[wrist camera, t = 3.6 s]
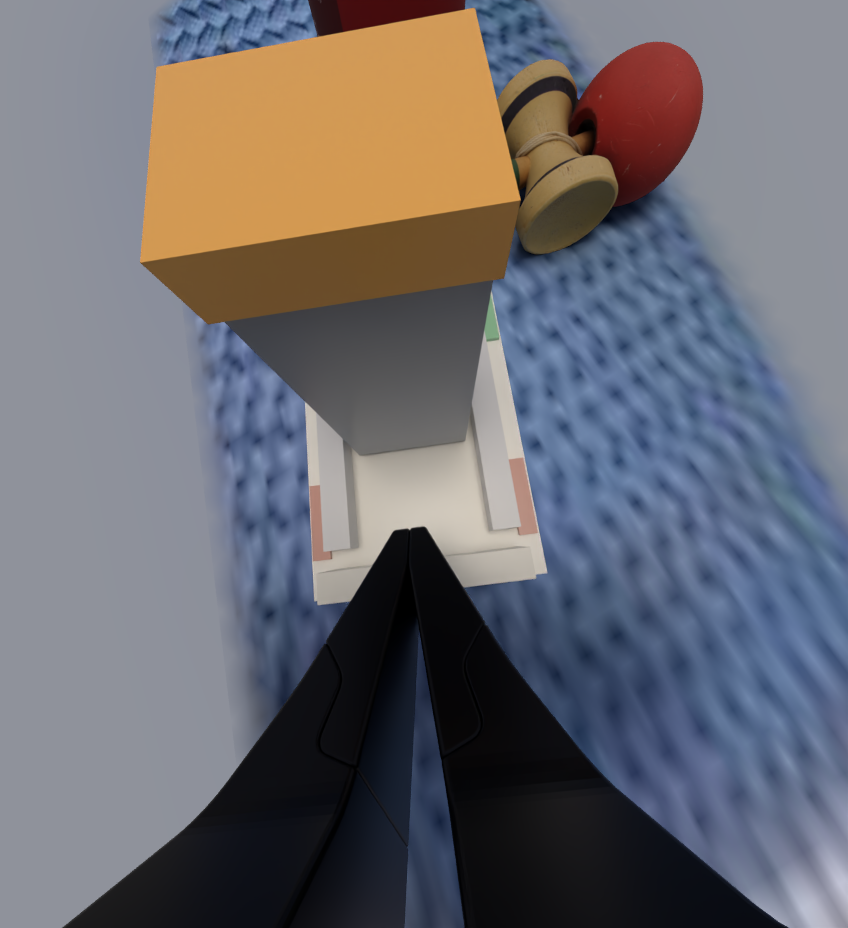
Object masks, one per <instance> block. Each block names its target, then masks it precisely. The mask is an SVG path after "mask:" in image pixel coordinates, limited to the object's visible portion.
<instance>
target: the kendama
mask: <svg viewBox="0 0 848 928" xmlns="http://www.w3.org/2000/svg"><path fill="white" fill-rule="evenodd" d="M497 103H498V107H499V112H500V116H501V120H502V124H503V128H504V132H505V137H506V141H507V145H508V149H509V153H510V158H511V162H512V166H513V170H514V174H515V178H516V183H517V187H518V191H519V190H521V189H523V188H524V187H526V194H525V199H524V201H523V203H522V205H521V207H520V209H519V211H518V215H517V220H516V225H515V226H516V231H517V233H518V235H519V238H520V240H521V243H522V245H523V247H524V249H525V250H526V251H527V252H529V253H532V254H546V253H551V252H554V251H558V250H560V249H563V248H565V247H567V246H569V245H571V244H573V243H575V242H576V241H578V240H579V239H581V238H582V237H584V236H585V235H587V234H588V233H589V232H590V231H591V230H593V229H594V228H595V227H596V226H597V225H598V224H599V223H600V222H601V221H602V220H603V219H604V217H605V216H606V215H607V214H608V212H609V211H610V210H611V208H612V207H616V206H621V205H625V204H628V203H631V202H633V201H635V200H638V199H639V198H641V197H643V196H645V195H646V194H648V193H649V192H651V191H652V190H653V189H655V188H656V187H657V186H658V185H659V184H661V183H662V182H663V181H664V180H665V179H666V178H667V177H668V176H669V174H670V173H671V172H672V171H673V170H674V169H675V167H676V166H677V165H678V163H679V162H680V161H681V159H682V157H683V156H684V154H685V153H686V151H687V149H688V148H689V146H690V143H691V142H692V139H693V137H694V135H695V132H696V130H697V127H698V124H699V120H700V115H701V110H702V103H703V86H702V80H701V75H700V72H699V70H698V67H697V65H696V63H695V62H694V60H693V58H692V57H691V56H690V55H689V54H688V53H687V52H686V51H685V50H683V49H682V48H680V47H678V46H676V45H673V44H671V43H665V42H650V43H645V44H641V45H638V46H636V47H634V48H631V49H629V50H627V51H625V52H624V53H622V54H620V55H619V56H617V57H616V58H615V59H613V60H612V61H611V62H610V63H609V64H608V65H606V66H605V67H604V68H603V69H602V70H601V71H600V72H599V73H598V74H597V75H596V77H595V78H594V79H593V80H592V82H591V83H590V84H589V86H588V87H587V88H586V90H585V91H584V93H583V95H582V96H581V98H580V100H578V98H577V88H576V85H575V82H574V80H573V78H572V76H571V74H570V72H569V70H568V69H567V68H566V67H565V65H564V64H563V63H561V62H559V61H555V60H552V59H551V60H541V61H538V62H535V63H534V64H531V65H529V66H528V67H526V68H525V69H523V70H522V71H521V72H519V73H518V74H517V75H516V76H515V77H514V78H513V79H512V80H511V81H510V82H509V83H508V84H507V86H506V87H505V88H504V90H503V91H502V93H501V95H500V96H499V98H498V100H497Z"/></svg>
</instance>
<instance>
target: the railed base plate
mask: <svg viewBox="0 0 848 928" xmlns="http://www.w3.org/2000/svg"><path fill="white" fill-rule="evenodd" d="M305 410H306V432H307V453H308V475H309V497H310V519H311V541H312V563H313V585H314V601H317V602H318V605H323V604H332V603H340V602H348V601H351V599H352V598H353V596H354V595H355V593H356V591H357V590H358V588H359V586H360V585H361V583H362V581H363V580H364V578H365V576H366V575H367V573H368V572H369V570H370V568H371V567H372V565H373V563H374V562H375V560H376V558H377V557H378V555H379V554H380V552H381V550H382V549H383V547H384V545H385V544H386V542H387V540H388V539H389V537H390V536H391V534H392V532H393V531H394V530H398V529H405V528H408V529H409V530H410V529H411V528H413V527H421V526H425V527H426V528H427V529H428V531H429V533H430V534H431V536H432V537H433V539H434V541H435V542H436V544H437V546H438V547H439V549H440V550H441V552H442V554H443V555H444V557H445V558H446V560H447V562H448V563H449V565H450V567H451V568H452V570H453V571H454V573H455V575H456V576H457V578H458V579H459V581H460V583H461V584H462V586H463V587H471V586H480V585H488V584H496V583H504V582H512V581H521V580H529V579H536V574H543V573H547V569H546V564H545V559H544V554H543V548H542V543H541V538H540V533H539V528H538V523H537V518H536V513H535V508H534V503H533V498H532V493H531V488H530V483H529V478H528V473H527V468H526V463H525V458H524V453H523V448H522V443H521V438H520V433H519V428H518V423H517V417H516V412H515V407H514V402H513V397H512V392H511V387H510V382H509V377H508V372H507V367H506V362H505V357H504V352H503V347H502V342H501V337H500V332H499V327H498V322H497V317H496V312H495V307H494V302H493V297H492V292H491V295H490V301H489V306H488V312H487V318H486V324H485V329H484V335H483V341H482V347H481V353H480V358H479V364H478V370H477V376H476V381H475V387H474V393H473V399H472V405H471V410H470V416H469V422H468V428H467V433H466V439H465V441H459V442H452V443H445V444H438V445H430V446H423V447H416V448H409V449H401V450H394V451H387V452H380V453H373V454H365V455H359V454H358V453H357V452H356V451H355V450H354V449H353V448H352V447H351V446H350V445H348V444H347V443H346V442H345V441H344V440H343V439H342V438H341V437H340V436H339V435H338V434H337V433H336V432H335V431H334V430H333V429H332V428H331V427H330V426H329V425H328V424H327V423H326V422H325V421H324V420H323V419H322V418H321V417H320V416H319V415H318V414H317V413H316V412H315V411H314V410H313V409H312V408H311V407H310V406H309V405H308V404H307V403H306V402H305Z"/></svg>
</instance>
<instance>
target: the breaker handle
mask: <svg viewBox="0 0 848 928" xmlns="http://www.w3.org/2000/svg"><path fill="white" fill-rule="evenodd" d="M520 201H521V199H520V195H519V191H518V187H517V183H516V178H515V174H514V170H513V166H512V162H511V158H510V153H509V149H508V145H507V141H506V137H505V132H504V128H503V124H502V120H501V116H500V112H499V107H498V103H497V99H496V95H495V91H494V87H493V82H492V78H491V74H490V70H489V66H488V61H487V57H486V53H485V49H484V45H483V41H482V36H481V32H480V28H479V24H478V20H477V16H476V11H475V8H471V9H466V10H460V11H455V12H449V13H444V14H439V15H433V16H428V17H423V18H417V19H412V20H406V21H401V22H396V23H390V24H385V25H380V26H374V27H369V28H364V29H358V30H353V31H347V32H342V33H337V34H331V35H326V36H321V37H315V38H310V39H304V40H299V41H294V42H288V43H283V44H278V45H272V46H267V47H261V48H256V49H251V50H245V51H240V52H235V53H229V54H224V55H218V56H213V57H208V58H202V59H197V60H192V61H186V62H181V63H175V64H170V65H165V66H159V67H157V69H156V82H155V93H154V105H153V117H152V128H151V140H150V152H149V165H148V176H147V188H146V199H145V211H144V224H143V235H142V247H141V259H140V263H141V264H142V265H143V266H144V267H146V268H147V269H148V270H149V271H150V272H151V273H152V274H154V276H156V277H157V278H158V279H159V280H160V281H161V282H162V283H163V284H164V285H165V286H167V287H168V288H169V289H170V290H171V291H172V292H173V293H174V294H175V295H176V296H177V297H179V298H180V299H181V300H182V301H183V302H184V303H185V304H186V305H187V306H188V307H190V308H191V309H192V310H193V311H194V312H195V313H196V314H197V315H198V316H199V317H201V318H202V319H203V320H204V321H205V322H206V323H207V324H214V323H220V322H225V323H226V324H227V325H228V326H229V327H230V328H231V329H232V330H233V331H234V332H235V333H236V334H237V335H238V336H239V337H240V338H241V339H242V340H243V341H244V342H245V343H246V344H247V345H248V346H249V347H250V348H251V349H252V350H253V351H254V352H255V353H256V354H257V355H258V356H259V357H260V358H261V359H262V360H263V361H264V362H265V363H266V364H267V365H268V366H269V367H270V368H272V369H273V370H274V371H275V372H276V373H277V374H278V375H279V376H280V377H281V378H282V379H283V380H284V381H285V382H286V383H287V384H288V385H289V386H290V387H291V388H292V389H293V390H294V391H295V392H296V393H297V394H298V395H299V396H300V397H301V398H302V399H303V400H304V401H305V402H306V403H307V404H308V405H309V406H310V407H311V408H312V409H313V410H314V411H315V412H316V413H317V414H318V415H319V416H320V417H321V418H322V419H323V420H324V421H325V422H326V423H327V424H328V425H329V426H330V427H331V428H332V429H333V430H334V431H335V432H336V433H337V434H338V435H339V436H340V437H341V438H342V439H343V440H344V441H345V442H346V443H347V444H348V445H350V446H351V447H352V448H353V449H354V450H355V451H356V452H357V453H358V454H359V455H365V454H373V453H380V452H387V451H394V450H401V449H409V448H416V447H423V446H430V445H438V444H445V443H452V442H459V441H465V439H466V433H467V428H468V422H469V416H470V410H471V405H472V399H473V393H474V387H475V381H476V376H477V370H478V364H479V358H480V353H481V347H482V341H483V335H484V329H485V324H486V318H487V312H488V306H489V301H490V295H491V289H492V283H493V280H497V279H503V278H504V276H505V271H506V267H507V262H508V257H509V253H510V248H511V243H512V239H513V234H514V229H515V225H516V220H517V215H518V211H519V206H520Z"/></svg>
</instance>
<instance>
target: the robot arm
mask: <svg viewBox="0 0 848 928" xmlns="http://www.w3.org/2000/svg"><path fill="white" fill-rule="evenodd" d="M419 632H420V638H421V643H422V649H423V655H424V661H425V667H426V673H427V679H428V685H429V691H430V697H431V703H432V709H433V715H434V721H435V727H436V733H437V739H438V745H439V750H440V756H441V760H442V768H443V774H444V781H445V787H446V793H447V800H448V806H449V814H450V821H451V828H452V836H453V843H454V851H455V858H456V866H457V873H458V881H459V889H460V896H461V904H462V911H463V919H464V926H465V928H788V927H787V926H785V925H783V924H781V923H780V922H778V921H777V920H775V919H774V918H773V917H771V916H770V915H769V914H767V913H766V912H765V911H763V910H762V909H761V908H759V907H758V906H757V905H755V904H754V903H753V902H751V901H750V900H749V899H748V898H747V897H746V896H744V895H743V894H742V893H741V892H740V891H738V890H737V889H736V888H735V887H734V886H732V885H731V884H730V883H729V882H728V881H726V880H725V879H724V878H723V877H722V876H721V875H719V874H718V873H717V872H716V871H715V870H713V869H712V868H711V867H710V866H709V865H707V864H706V863H705V862H704V861H703V860H701V859H700V858H699V857H698V856H697V855H696V854H694V853H693V852H692V851H691V850H690V849H688V848H687V847H686V846H685V845H684V844H682V843H681V842H680V841H679V840H678V839H676V838H675V837H674V836H673V835H672V834H671V833H669V832H668V831H667V830H666V829H665V828H663V827H662V826H661V825H660V824H659V823H657V822H656V821H655V820H654V819H653V818H651V817H650V816H649V815H648V814H647V813H646V812H644V811H643V810H642V809H641V808H640V807H638V806H637V805H636V804H635V803H634V802H632V801H631V800H630V799H629V798H628V797H626V796H625V795H624V794H623V793H622V792H621V791H619V790H618V789H617V788H616V787H615V786H614V785H613V784H612V783H611V782H610V781H609V780H608V779H607V778H606V777H605V776H604V775H603V774H602V773H601V772H600V771H599V770H598V769H597V768H596V767H595V766H594V765H593V763H592V762H591V761H590V760H589V759H588V758H587V757H586V756H585V754H584V753H583V752H582V751H581V750H580V748H579V747H578V746H577V745H576V744H575V742H574V741H573V740H572V739H571V737H570V736H569V735H568V734H567V732H566V731H565V730H564V729H563V727H562V726H561V725H560V724H559V722H558V721H557V720H556V719H555V717H554V716H553V715H552V714H551V712H550V711H549V710H548V709H547V708H546V706H545V705H544V704H543V703H542V701H541V700H540V699H539V698H538V696H537V695H536V694H535V693H534V691H533V690H532V689H531V688H530V686H529V685H528V684H527V683H526V681H525V680H524V679H523V677H522V676H521V675H520V673H519V672H518V671H517V669H516V668H515V667H514V665H513V664H512V663H511V661H510V660H509V658H508V657H507V655H506V654H505V652H504V651H503V649H502V648H501V646H500V645H499V643H498V642H497V640H496V639H495V637H494V636H493V634H492V632H491V631H490V629H489V628H488V626H487V625H485V621H484V620H483V618H482V617H481V615H480V613H479V612H478V610H477V609H476V607H475V605H474V604H473V602H472V600H471V599H470V597H469V596H468V594H467V592H466V591H465V589H464V588H463V586H462V584H461V583H460V581H459V579H458V578H457V576H456V575H455V573H454V571H453V570H452V568H451V567H450V565H449V563H448V562H447V560H446V558H445V557H444V555H443V554H442V552H441V550H440V549H439V547H438V546H437V544H436V542H435V541H434V539H433V537H432V536H431V534H430V533H429V531H428V529H427V528H426V527H425V526H421V527H413V528H411V529H410V530H409V529H408V528H405V529H398V530H394V531H393V532H392V534H391V536H390V537H389V539H388V540H387V542H386V544H385V545H384V547H383V549H382V550H381V552H380V554H379V555H378V557H377V558H376V560H375V562H374V563H373V565H372V567H371V568H370V570H369V572H368V573H367V575H366V576H365V578H364V580H363V581H362V583H361V585H360V586H359V588H358V590H357V591H356V593H355V595H354V596H353V598H352V599H351V601H350V603H349V604H348V606H347V608H346V609H345V611H344V613H343V614H342V616H341V617H340V619H339V621H338V622H337V624H336V626H335V627H334V629H333V631H332V632H331V634H330V635H329V637H328V639H327V640H326V643H327V644H324V645H323V647H322V648H321V650H320V652H319V653H318V655H317V657H316V658H315V660H314V661H313V663H312V664H311V666H310V668H309V669H308V671H307V672H306V674H305V675H304V677H303V678H302V680H301V681H300V683H299V685H298V686H297V687H296V689H295V690H294V692H293V693H292V694H291V696H290V697H289V699H288V700H287V701H286V703H285V704H284V706H283V707H282V708H281V710H280V711H279V713H278V714H277V715H276V717H275V718H274V719H273V721H272V722H271V723H270V725H269V726H268V727H267V729H266V730H265V731H264V733H263V734H262V735H261V737H260V738H259V740H258V741H257V742H256V744H255V745H254V746H253V748H252V749H251V750H250V752H249V753H248V754H247V756H246V757H245V758H244V760H243V761H242V762H241V764H240V765H239V766H238V768H237V769H236V771H235V772H234V773H233V775H232V776H231V777H230V779H229V780H228V781H227V783H226V784H225V785H224V787H223V788H222V789H221V790H220V792H219V793H218V794H217V795H216V796H215V798H214V799H213V800H212V801H211V802H210V803H209V804H208V806H207V807H206V808H205V809H204V810H203V811H202V812H201V813H200V814H199V815H198V816H197V817H196V818H195V819H194V820H193V821H192V822H191V823H190V824H189V825H188V826H187V827H186V828H185V829H184V830H183V831H181V832H180V833H179V834H178V835H177V836H175V837H174V838H173V839H172V840H170V841H169V842H168V843H167V844H166V845H164V846H163V847H162V848H161V849H159V850H158V851H157V852H156V853H154V854H153V855H152V856H151V857H149V858H148V859H147V860H146V861H145V862H143V863H142V864H141V865H139V866H138V867H137V868H136V869H134V870H133V871H132V872H131V873H130V874H129V875H127V876H126V877H125V878H123V879H122V880H121V881H120V882H118V884H116V885H115V886H113V887H112V888H111V889H110V890H109V891H107V892H106V893H105V894H104V895H102V896H101V897H100V898H99V899H97V900H96V901H95V902H94V903H92V904H91V905H90V906H89V907H87V908H86V909H85V910H84V911H82V912H81V913H80V914H79V915H78V916H76V917H75V918H74V919H73V920H71V921H70V922H69V923H68V924H66V925H65V926H64V927H63V928H404V924H405V903H406V883H407V862H408V848H407V846H408V840H409V819H410V799H411V778H412V757H413V737H414V716H415V695H416V675H417V654H418V633H419Z"/></svg>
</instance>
